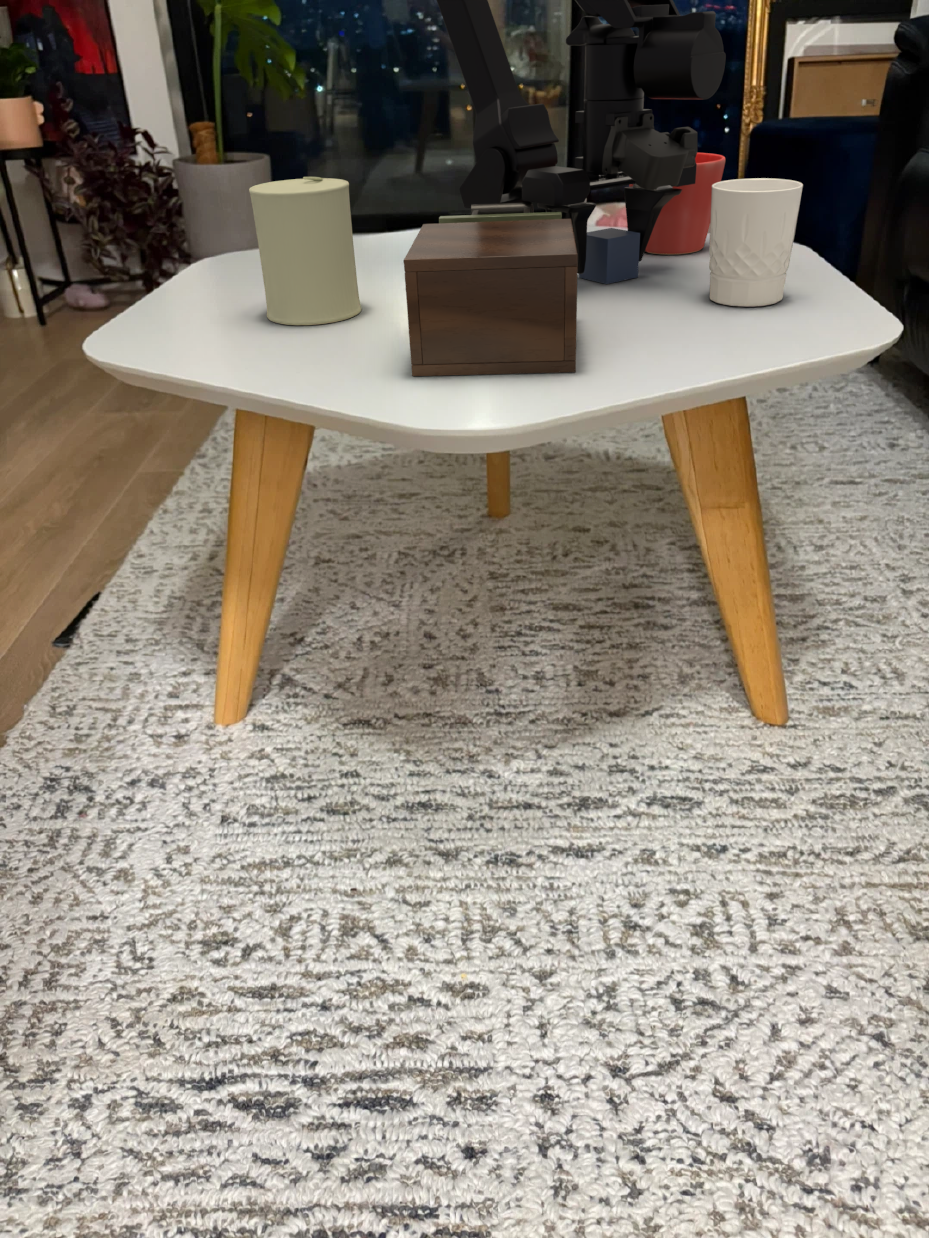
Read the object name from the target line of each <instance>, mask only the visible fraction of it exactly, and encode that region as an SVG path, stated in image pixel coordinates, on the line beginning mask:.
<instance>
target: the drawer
mask: <svg viewBox="0 0 929 1238" xmlns="http://www.w3.org/2000/svg"><path fill="white" fill-rule="evenodd" d="M532 205H533V202H526V203H499V204H473V205H471V209H470V214H466V215H465V214H464V215H440V216H439V217H438V224H439V223H467V222H494V221H522V220H549V219H562V213H561V212H546V211H545V212H533V213H532Z"/></svg>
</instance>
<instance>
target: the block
mask: <svg viewBox="0 0 929 1238" xmlns="http://www.w3.org/2000/svg"><path fill="white" fill-rule="evenodd" d="M639 246H640V233H637V232H632V231H628V230H625V229H620V228H614V227H608V228H603V229H597V230H592V231H587V244H586V262H585V269H584V273H583V274H578V278H579V279H583V280H587V281H591V282H596V283H600V284H604V285H609V284H613V283H618V282H622V281H628V280H632V279H637V278H639V267H640V266H639V265H640V262H639Z"/></svg>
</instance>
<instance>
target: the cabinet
mask: <svg viewBox="0 0 929 1238" xmlns="http://www.w3.org/2000/svg"><path fill="white" fill-rule="evenodd" d="M577 262H578V254H577V248H576V243H575V238H574V232H573V227H572V221H571V219H549V220H522V221H494V222H467V223H439V222H438V223H423V224H422V226H421V228H420V229H419V231H418V233H417V235H416V236H415V238H414V240H413V242H412V244H411V246H410V248H409V250H408V252H407V253H406V255H405V257H404V258H403V270H404V282H405V296H406V299H405V300H406V311H407V324H408V326H407V327H408V337H409V339H408V340H409V351H410V352H409V353H410V364H411V365H410V367H411V376H412V377H436V376H437V377H438V376H439V377H440V376H473V375H476V376H477V375H478V376H479V375H514V374H515V375H517V374H555V373H557V374H559V373H576V372H577V328H578V327H577V325H578V322H577V321H578V316H577V315H578V311H577V310H578V273H577Z"/></svg>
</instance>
